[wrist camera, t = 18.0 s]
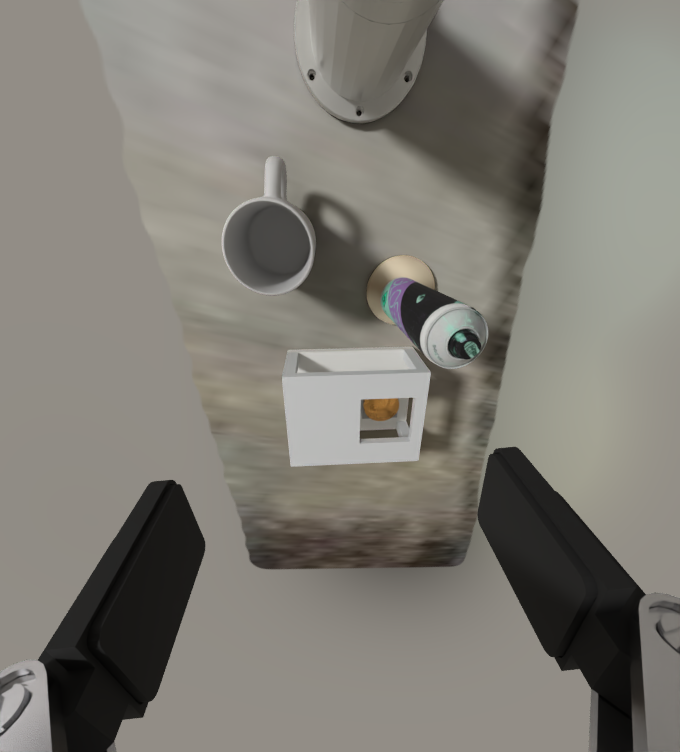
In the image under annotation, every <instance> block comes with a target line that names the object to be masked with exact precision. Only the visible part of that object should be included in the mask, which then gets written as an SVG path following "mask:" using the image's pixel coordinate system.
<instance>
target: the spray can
mask: <svg viewBox="0 0 680 752" xmlns="http://www.w3.org/2000/svg"><path fill="white" fill-rule="evenodd" d="M380 303H381V307H382V309H383V311H384V312H385V314H386V315H387V316H388V317H389V318H390V319H391V320H392V321H393V322H394V323H395V324H396V325H397V326H398V327H399V328H400V329H401V331H402V332H403V333H404V334H405V335H406V336H407V337H408V338H409V339H410V340H411V341H412V342H413V343H414V344H415V345H416V346H417V347H418V349H419V350H420V351H421V352H422V353H423V354H424V355H425V356H426V357H427V358H428V359H429V360H430V361H431V362H433V363H434V364H436V365H438V366H439V367H442V368H446V369H457V368H461V367H464V366H466V365H468V364H470V363H471V362H473V361H474V360H475V359H476V358H477V357H478V356H479V355H480V354H481V353H482V351H483V349H484V348H485V345H486V343H487V339H488V326H487V323H486V321H485V319H484V317H483V316H482V315H481V314H480V313H479V312H478V311H476V310H475V309H474V308H472V307H470V306H468V305H466V304H464V303H462V302H459V301H457V300H455V299H453V298H451V297H449V296H446V295H444V294H442V293H440V292H438V291H436V290H433V289H431V288H429V287H427V286H425V285H423V284H420V283H418V282H416V281H414V280H412V279H410V278H406V277H399V278H395V279H393V280H391V281H390V282H388V283H387V284H386V285H385V287H384V288H383V290H382V292H381V296H380Z"/></svg>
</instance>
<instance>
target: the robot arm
mask: <svg viewBox="0 0 680 752" xmlns="http://www.w3.org/2000/svg"><path fill="white" fill-rule="evenodd" d="M443 1H444V0H297V4H296V10H295V17H294V41H295V50H296V55H297V60H298V65H299V68H300V71H301V74H302V77H303V80H304V82H305V84H306V86H307V87H308V89H309V91H310V93H311V94H312V96H313V97H314V98H315V100H316V101H317V102H318V104H319V105H320V106H321V107H323V108H324V109H325V110H326V111H327V112H328V113H329V114H331V115H333V116H335V117H336V118H338V119H340V120H343V121H346V122H350V123H367V122H373V121H375V120H377V119H380V118H382V117H384V116H385V115H387V114H388V113H390V112H391V111H393V110H394V109H395V108H396V107H397V106H398V105H399V104H400V103H401V101H402V100H403V99H404V98H405V96H406V95H407V94H408V92H409V91H410V89H411V87H412V86H413V84H414V82H415V80H416V78H417V75H418V73H419V70H420V67H421V65H422V61H423V56H424V52H425V47H426V36H427V28H428V26H429V25H430V23H431V21H432V19H433V18H434V16H435V14H436V13H437V11H438V9H439V8H440V6H441V4H442V2H443ZM311 75H313V76H314V80H313V81H311V80H310V79H309V77H310V76H311ZM404 77H407V78H408V82H405V80H404ZM357 111H360V112H361V116H357ZM478 520H479V524H480V526H481V528H482V530H483V532H484V534H485V536H486V538H487V540H488V542H489V544H490V546H491V547H492V549H493V551H494V553H495V555H496V557H497V559H498V561H499V563H500V565H501V567H502V569H503V571H504V573H505V575H506V576H507V579H508V580H509V582H510V584H511V586H512V588H513V590H514V592H515V594H516V596H517V598H518V600H519V602H520V604H521V606H522V608H523V609H524V612H525V613H526V615H527V617H528V619H529V621H530V623H531V625H532V627H533V629H534V631H535V633H536V635H537V637H538V639H539V641H540V642H541V645H542V646H543V648H544V650H545V651H546V653H547V654H548V655H549V656H551V657H555V659H556V661H557V663H558V665H559V667H560V669H561V670H562V671H564V670H574V669H580V670H581V672H582V673H583V675H584V677H585V679H586V680H587V682H588V684H589V686H590V687H591V707H590V731H589V752H680V598H677V597H674V596H671V595H668V594H662V593H651V594H647V595H646V594H645V593H644V592H643V591H642V590H641V588H640V587H639V586H638V585H637V584H636V583H635V582H634V580H633V579H632V578H631V577H630V576H629V574H628V573H627V572H626V571H625V570H624V569H623V567H622V566H621V565H620V564H619V563H618V562H617V560H616V559H615V558H614V557H613V556H612V554H611V553H610V552H609V551H608V550H607V549H606V547H605V546H604V545H603V544H602V543H601V542H600V540H599V539H598V538H597V537H596V536H595V535H594V533H593V532H592V531H591V530H590V529H589V528H588V527H587V525H586V524H585V523H584V522H583V521H582V519H580V517H579V516H578V515H577V514H576V513H575V511H574V510H573V509H572V508H571V507H570V505H569V504H568V503H567V502H566V501H565V500H564V498H563V497H562V496H561V495H560V494H559V493H558V492H556V491H554V490H553V488H552V487H551V486H550V485H549V484H548V482H547V481H546V480H545V479H544V478H543V477H542V475H541V474H540V473H539V472H538V471H537V470H536V468H535V467H534V466H533V465H532V463H531V462H530V461H529V460H528V459H527V458H526V456H525V455H524V454H523V453H522V452H521V450H519V449H518V448H517V447H508V448H498V449H495V450H494V453H493V454H490V455H489V458H488V463H487V468H486V473H485V478H484V483H483V488H482V494H481V498H480V503H479V508H478ZM204 552H205V541H204V538H203V535H202V533H201V531H200V529H199V526H198V524H197V521H196V519H195V517H194V514H193V512H192V509H191V507H190V505H189V502H188V500H187V498H186V495H185V493H184V491H183V488H182V486H181V485H180V484H176V482H175V481H173V480H166V481H155V482H151V483H150V484H149V485H148V486H147V488H146V489H145V491H144V493H143V494H142V496H141V498H140V499H139V501H138V502H137V504H136V505H135V507H134V509H133V510H132V512H131V513H130V515H129V517H128V518H127V520H126V522H125V523H124V525H123V526H122V528H121V530H120V531H119V533H118V534H117V536H116V537H115V539H114V540H113V541H112V543H111V544H110V546H109V547H108V549H107V551H106V552H105V554H104V555H103V557H102V559H101V560H100V562H99V563H98V565H97V567H96V568H95V570H94V571H93V573H92V575H91V576H90V578H89V579H88V581H87V583H86V584H85V586H84V587H83V589H82V590H81V592H80V594H79V595H78V597H77V599H76V600H75V602H74V603H73V605H72V606H71V608H70V610H69V611H68V613H67V614H66V616H65V618H64V619H63V621H62V622H61V624H60V626H59V627H58V629H57V631H56V632H55V634H54V635H53V637H52V638H51V640H50V642H49V643H48V645H47V646H46V648H45V650H44V651H43V653H42V654H41V656H40V657H39V659H38V660H24V661H21V662H19V663H15V664H13V665H11V666H10V667H8V668H6V669H4V670H2V671H1V672H0V752H116V747H115V743H114V740H115V738H116V735H117V732H118V730H119V727H120V725H121V722H122V720H124V719H133V718H142V717H143V716H144V713H145V710H146V707H147V705H148V702H149V701H152V700H153V699H154V698H155V696H156V694H157V692H158V689H159V687H160V683H161V681H162V678H163V675H164V672H165V669H166V666H167V663H168V660H169V657H170V654H171V651H172V648H173V645H174V642H175V639H176V636H177V633H178V630H179V627H180V624H181V621H182V618H183V615H184V612H185V609H186V606H187V603H188V600H189V597H190V594H191V591H192V588H193V585H194V582H195V579H196V576H197V574H198V571H199V567H200V565H201V562H202V559H203V556H204Z"/></svg>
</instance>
